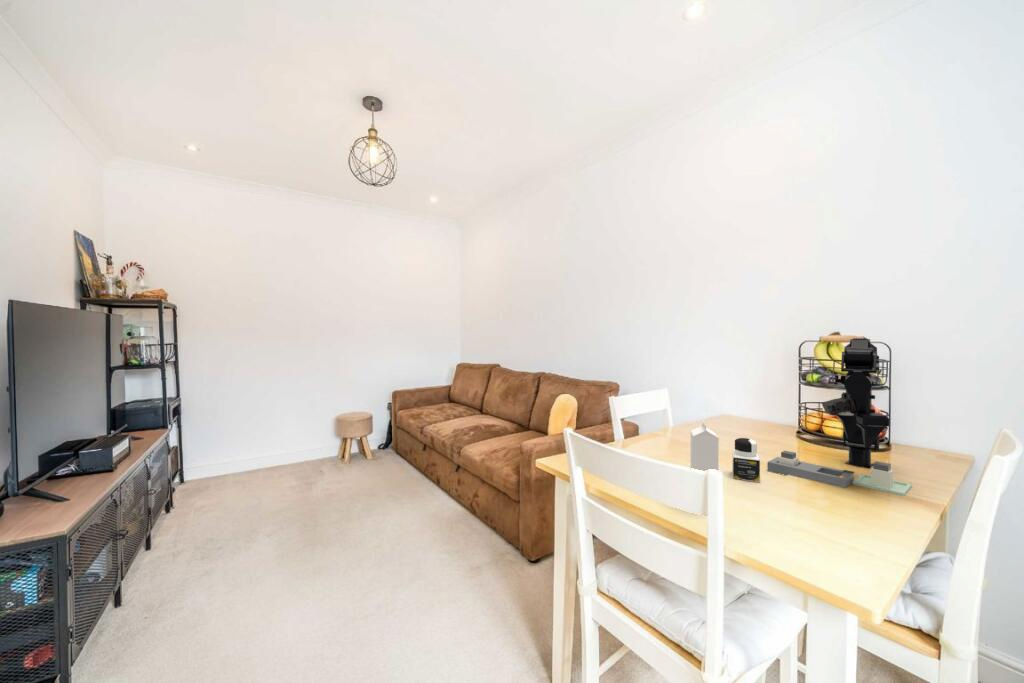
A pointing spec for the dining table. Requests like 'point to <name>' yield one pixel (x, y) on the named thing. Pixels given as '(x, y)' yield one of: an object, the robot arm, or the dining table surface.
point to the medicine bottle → (746, 460)
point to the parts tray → (897, 488)
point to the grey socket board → (813, 472)
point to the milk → (704, 448)
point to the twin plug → (788, 458)
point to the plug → (882, 475)
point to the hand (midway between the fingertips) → (858, 442)
